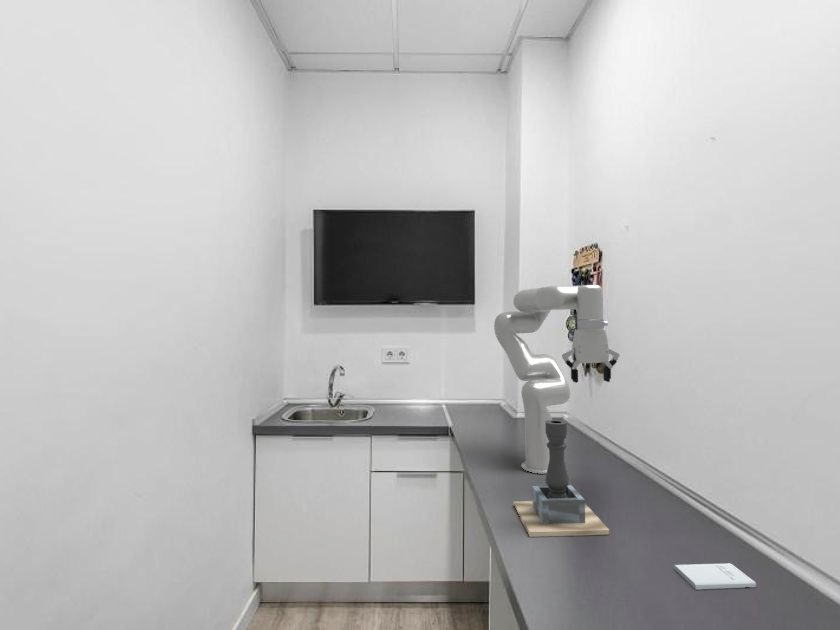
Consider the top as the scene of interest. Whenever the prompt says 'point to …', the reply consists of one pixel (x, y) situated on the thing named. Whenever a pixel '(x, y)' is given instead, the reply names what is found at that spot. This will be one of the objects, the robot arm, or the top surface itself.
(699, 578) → the external hard drive
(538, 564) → the top surface
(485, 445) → the top surface
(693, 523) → the top surface
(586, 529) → the socket board
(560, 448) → the candle holder
